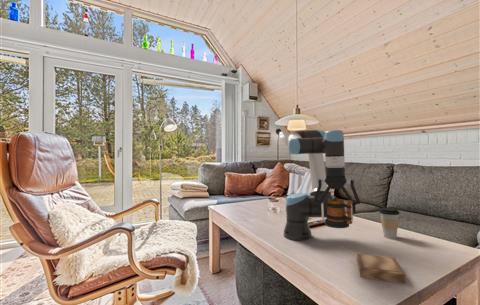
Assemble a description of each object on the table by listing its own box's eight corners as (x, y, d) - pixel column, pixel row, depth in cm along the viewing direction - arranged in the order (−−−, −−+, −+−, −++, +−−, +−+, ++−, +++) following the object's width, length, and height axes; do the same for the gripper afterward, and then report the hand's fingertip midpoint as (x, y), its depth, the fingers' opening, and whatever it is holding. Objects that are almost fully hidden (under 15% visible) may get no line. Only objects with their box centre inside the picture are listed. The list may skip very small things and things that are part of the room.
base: (360, 276, 85) (360, 268, 85) (356, 260, 98) (356, 253, 98) (405, 283, 80) (405, 274, 80) (395, 265, 93) (395, 257, 93)
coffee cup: (404, 240, 119) (402, 211, 119) (383, 239, 121) (382, 210, 121) (395, 234, 128) (394, 207, 128) (376, 233, 130) (375, 206, 130)
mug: (318, 223, 100) (317, 197, 100) (335, 220, 105) (334, 194, 105) (344, 232, 89) (343, 201, 89) (361, 227, 93) (360, 198, 94)
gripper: (305, 167, 99) (307, 219, 98) (366, 167, 90) (369, 224, 89) (307, 166, 106) (309, 215, 105) (364, 166, 97) (366, 219, 96)
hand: (337, 219), depth 97 cm, fingers closed on mug, 10 cm apart
